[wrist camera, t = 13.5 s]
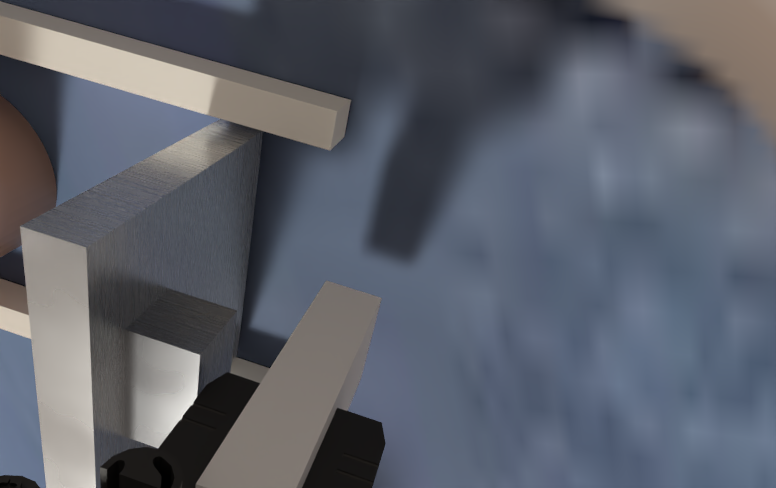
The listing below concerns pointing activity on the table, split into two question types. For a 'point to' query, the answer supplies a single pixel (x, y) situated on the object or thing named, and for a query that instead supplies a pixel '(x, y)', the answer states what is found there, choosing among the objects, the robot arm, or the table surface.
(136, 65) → the lane
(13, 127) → the jar
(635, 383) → the table surface
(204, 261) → the pusher
